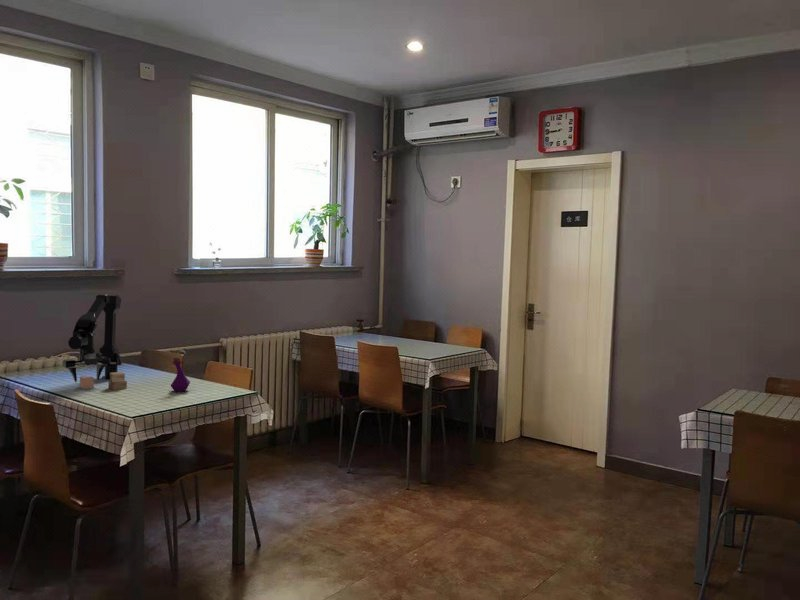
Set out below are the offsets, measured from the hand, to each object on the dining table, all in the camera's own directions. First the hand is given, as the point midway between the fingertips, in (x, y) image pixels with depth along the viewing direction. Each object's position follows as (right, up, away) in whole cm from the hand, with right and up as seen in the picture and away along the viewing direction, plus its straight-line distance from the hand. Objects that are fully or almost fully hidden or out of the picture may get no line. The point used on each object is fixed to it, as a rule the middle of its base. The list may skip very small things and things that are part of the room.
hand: (86, 381), depth 301 cm
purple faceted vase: (+43, -4, -4) cm, 43 cm away
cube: (0, -3, 0) cm, 3 cm away
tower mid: (+14, 0, -1) cm, 14 cm away
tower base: (+14, -3, -1) cm, 15 cm away
